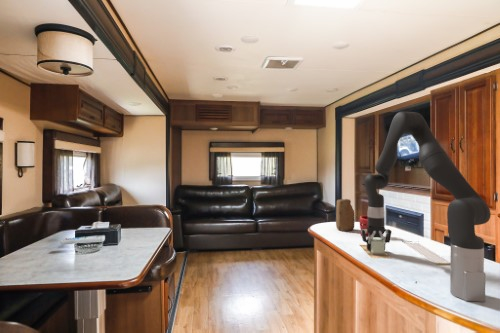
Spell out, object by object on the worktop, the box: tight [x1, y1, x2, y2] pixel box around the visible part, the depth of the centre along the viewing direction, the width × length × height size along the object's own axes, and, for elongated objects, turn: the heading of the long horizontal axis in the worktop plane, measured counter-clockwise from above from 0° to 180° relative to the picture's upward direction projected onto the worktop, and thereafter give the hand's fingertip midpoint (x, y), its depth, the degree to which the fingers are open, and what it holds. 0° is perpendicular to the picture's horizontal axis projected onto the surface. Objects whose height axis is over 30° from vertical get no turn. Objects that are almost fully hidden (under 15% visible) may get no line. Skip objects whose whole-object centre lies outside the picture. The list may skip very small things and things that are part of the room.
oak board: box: [359, 244, 392, 259], centre depth 147 cm, size 20×9×2 cm, turn 175°
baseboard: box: [402, 241, 451, 266], centre depth 146 cm, size 30×3×10 cm
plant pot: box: [359, 215, 369, 238], centre depth 176 cm, size 13×13×12 cm
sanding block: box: [366, 237, 386, 255], centre depth 144 cm, size 8×6×6 cm
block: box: [335, 198, 356, 232], centre depth 194 cm, size 11×8×20 cm
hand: (376, 250), depth 144 cm, fingers closed on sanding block, 5 cm apart
